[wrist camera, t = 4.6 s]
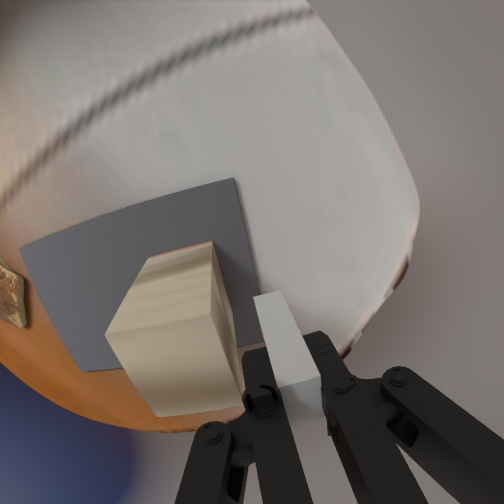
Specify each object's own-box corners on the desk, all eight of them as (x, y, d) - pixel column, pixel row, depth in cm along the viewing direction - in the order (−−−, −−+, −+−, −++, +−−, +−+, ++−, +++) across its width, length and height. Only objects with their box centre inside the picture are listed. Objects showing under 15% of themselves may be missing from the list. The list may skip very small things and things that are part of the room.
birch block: (148, 256, 20) (104, 334, 11) (212, 240, 20) (210, 313, 11) (174, 322, 22) (157, 417, 13) (232, 309, 22) (244, 404, 13)
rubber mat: (21, 246, 19) (19, 248, 18) (232, 177, 19) (233, 178, 19) (83, 368, 23) (81, 371, 23) (269, 336, 24) (270, 339, 24)
